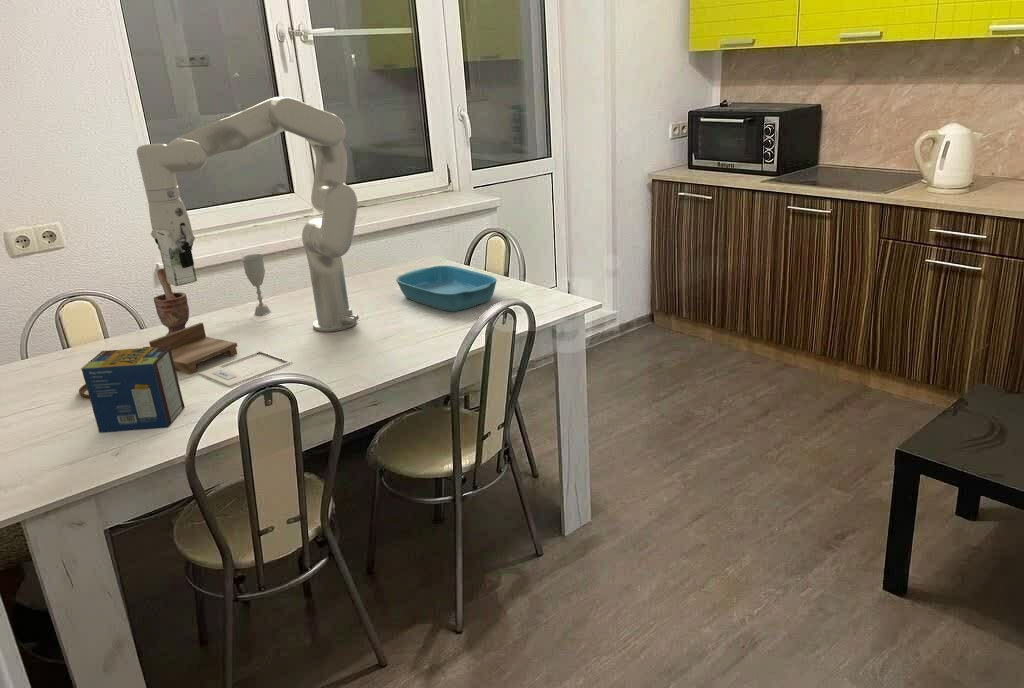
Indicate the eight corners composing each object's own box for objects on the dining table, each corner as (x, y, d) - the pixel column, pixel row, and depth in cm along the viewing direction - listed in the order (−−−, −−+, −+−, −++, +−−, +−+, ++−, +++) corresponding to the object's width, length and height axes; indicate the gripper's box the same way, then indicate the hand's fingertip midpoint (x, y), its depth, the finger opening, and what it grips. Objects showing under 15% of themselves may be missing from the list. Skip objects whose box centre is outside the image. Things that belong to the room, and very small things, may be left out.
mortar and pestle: (153, 339, 223) (137, 273, 216) (180, 330, 229) (166, 265, 222) (172, 346, 216) (156, 278, 209) (200, 337, 222) (186, 271, 215)
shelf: (238, 353, 208) (234, 329, 206) (189, 374, 195) (183, 349, 193) (205, 345, 215) (200, 322, 213) (155, 366, 202) (149, 341, 200)
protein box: (118, 412, 176) (101, 350, 171) (185, 407, 177) (170, 345, 171) (97, 433, 167) (79, 368, 161) (169, 428, 167) (153, 362, 161)
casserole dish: (386, 296, 250) (384, 275, 248) (441, 281, 264) (439, 261, 261) (454, 320, 224) (452, 297, 221) (511, 302, 237) (510, 279, 235)
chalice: (269, 315, 238) (259, 259, 231) (248, 316, 238) (237, 260, 231) (276, 308, 244) (267, 253, 238) (255, 309, 245) (245, 254, 238)
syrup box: (188, 278, 201) (176, 223, 196) (198, 281, 197) (186, 226, 192) (167, 283, 197) (154, 228, 192) (176, 287, 193) (163, 230, 188)
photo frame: (198, 372, 195) (260, 349, 208) (199, 376, 196) (261, 353, 208) (229, 384, 186) (291, 360, 199) (229, 389, 186) (292, 364, 199)
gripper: (198, 194, 188) (213, 264, 194) (155, 191, 196) (170, 258, 203) (172, 199, 182) (188, 272, 188) (128, 196, 190) (145, 266, 197)
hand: (178, 264), depth 195 cm, fingers closed on syrup box, 6 cm apart
